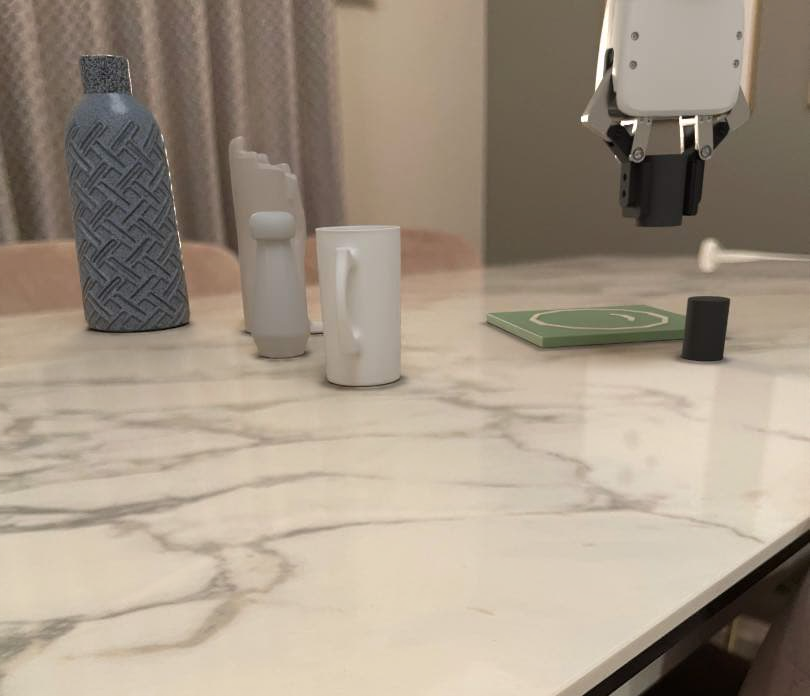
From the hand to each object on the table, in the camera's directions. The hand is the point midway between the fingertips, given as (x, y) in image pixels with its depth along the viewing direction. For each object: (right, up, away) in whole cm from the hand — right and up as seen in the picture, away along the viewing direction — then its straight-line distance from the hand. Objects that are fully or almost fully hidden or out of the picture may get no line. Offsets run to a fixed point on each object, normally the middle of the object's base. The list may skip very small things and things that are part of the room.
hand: (659, 213), depth 68 cm
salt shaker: (-32, -8, +15) cm, 37 cm away
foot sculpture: (-32, -2, +29) cm, 43 cm away
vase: (-52, 0, +35) cm, 63 cm away
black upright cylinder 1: (0, -1, 0) cm, 1 cm away
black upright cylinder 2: (+7, -9, +10) cm, 15 cm away
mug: (-24, -13, +3) cm, 28 cm away
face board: (+1, -3, +25) cm, 26 cm away
